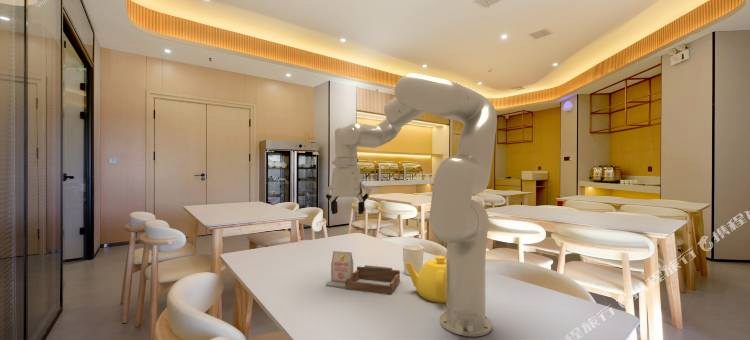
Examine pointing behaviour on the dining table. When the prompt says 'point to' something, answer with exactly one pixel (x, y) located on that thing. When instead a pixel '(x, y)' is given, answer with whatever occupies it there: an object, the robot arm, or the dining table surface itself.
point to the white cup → (413, 257)
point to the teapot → (430, 279)
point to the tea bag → (341, 266)
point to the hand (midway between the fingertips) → (347, 213)
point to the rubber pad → (336, 284)
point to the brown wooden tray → (373, 274)
